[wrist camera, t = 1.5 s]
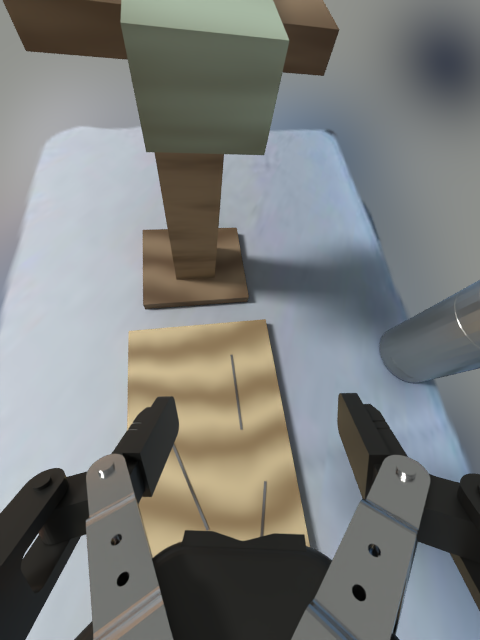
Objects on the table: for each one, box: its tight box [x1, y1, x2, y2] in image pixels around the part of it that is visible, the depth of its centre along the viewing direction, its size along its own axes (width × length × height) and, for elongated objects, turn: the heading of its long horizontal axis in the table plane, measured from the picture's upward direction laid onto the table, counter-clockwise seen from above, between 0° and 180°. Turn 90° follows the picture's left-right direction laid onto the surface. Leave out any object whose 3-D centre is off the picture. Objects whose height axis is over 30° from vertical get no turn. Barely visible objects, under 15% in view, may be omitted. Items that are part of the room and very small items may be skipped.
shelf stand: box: [3, 0, 339, 309], centre depth 30 cm, size 14×16×32 cm
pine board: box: [127, 319, 310, 557], centre depth 34 cm, size 32×20×2 cm, turn 8°
